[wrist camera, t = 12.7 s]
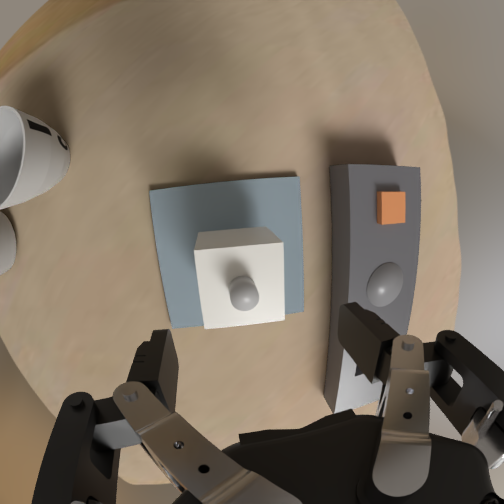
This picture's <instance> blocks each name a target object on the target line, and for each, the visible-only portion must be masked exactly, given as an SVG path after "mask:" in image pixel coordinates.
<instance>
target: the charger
mask: <svg viewBox="0 0 504 504" xmlns="http://www.w3.org/2000/svg"><path fill="white" fill-rule="evenodd" d="M194 256H195V265H196V273H197V280H198V288H199V295H200V302H201V309H202V316H203V322H204V328H205V329H212V328H223V327H233V326H242V325H251V324H259V323H267V322H274V321H282V320H285V296H284V244H283V241H281V240H280V239H279V238H278V237H277V236H276V235H275V234H274V233H273V232H272V231H271V230H270V229H268V228H267V227H266V226H264V227H252V228H240V229H228V230H217V231H206V232H198V236H197V240H196V244H195V248H194Z"/></svg>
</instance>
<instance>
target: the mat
mask: <svg viewBox="0 0 504 504" xmlns="http://www.w3.org/2000/svg"><path fill="white" fill-rule="evenodd" d="M149 193H150V203H151V211H152V219H153V226H154V234H155V240H156V247H157V253H158V259H159V265H160V271H161V276H162V282H163V287H164V292H165V297H166V302H167V307H168V311H169V316H170V320H171V325H172V329H174V328H185V327H195V326H204V322H203V316H202V309H201V302H200V295H199V288H198V280H197V273H196V265H195V256H194V248H195V244H196V240H197V236H198V232H206V231H217V230H228V229H240V228H252V227H264V226H266V227H267V228H268V229H270V230H271V231H272V232H273V233H274V234H275V235H276V236H277V237H278V238H279V239H280V240H281V241H283V244H284V296H285V314H291V313H297V312H303V311H304V273H303V236H302V213H301V194H300V178H299V177H280V178H263V179H249V180H237V181H226V182H216V183H206V184H197V185H189V186H181V187H173V188H166V189H158V190H152V191H149Z"/></svg>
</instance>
